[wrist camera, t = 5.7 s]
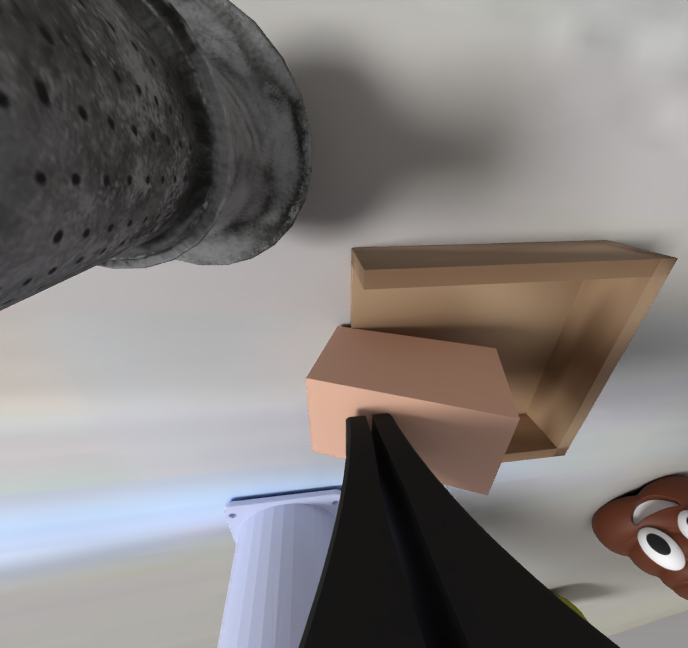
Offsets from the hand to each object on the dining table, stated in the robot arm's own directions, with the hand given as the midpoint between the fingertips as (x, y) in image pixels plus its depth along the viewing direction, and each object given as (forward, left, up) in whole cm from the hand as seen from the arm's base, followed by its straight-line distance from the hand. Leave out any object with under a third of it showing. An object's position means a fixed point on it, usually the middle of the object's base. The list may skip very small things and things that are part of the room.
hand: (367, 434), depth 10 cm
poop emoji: (-19, -28, -5) cm, 34 cm away
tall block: (0, +1, -3) cm, 3 cm away
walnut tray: (0, -6, -5) cm, 8 cm away
